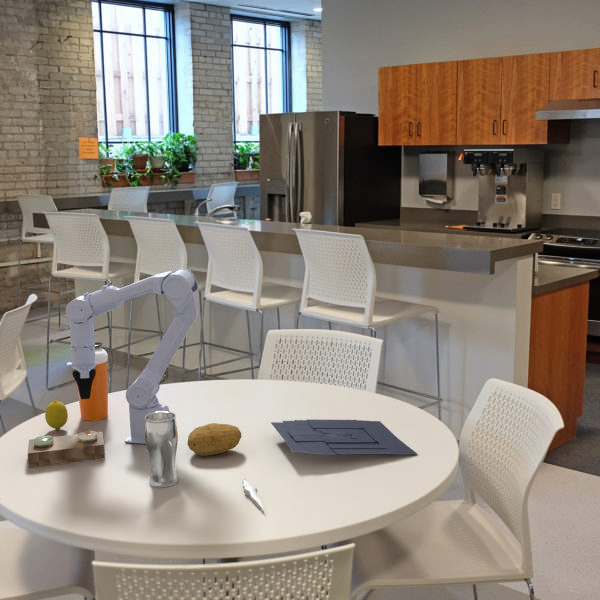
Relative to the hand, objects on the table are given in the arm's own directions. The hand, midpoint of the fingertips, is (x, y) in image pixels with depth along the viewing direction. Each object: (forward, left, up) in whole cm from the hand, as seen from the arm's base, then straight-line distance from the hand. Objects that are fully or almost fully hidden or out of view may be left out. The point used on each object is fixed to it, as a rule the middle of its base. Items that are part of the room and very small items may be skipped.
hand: (85, 398), depth 201 cm
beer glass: (-29, +22, -11) cm, 37 cm away
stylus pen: (-50, +27, -11) cm, 58 cm away
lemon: (+10, -4, -11) cm, 15 cm away
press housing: (-1, +12, -10) cm, 16 cm away
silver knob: (-5, +10, -10) cm, 15 cm away
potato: (-35, +4, -11) cm, 36 cm away
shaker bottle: (+5, -15, -11) cm, 19 cm away
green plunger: (+4, +14, -10) cm, 18 cm away
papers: (-63, -6, -11) cm, 64 cm away
